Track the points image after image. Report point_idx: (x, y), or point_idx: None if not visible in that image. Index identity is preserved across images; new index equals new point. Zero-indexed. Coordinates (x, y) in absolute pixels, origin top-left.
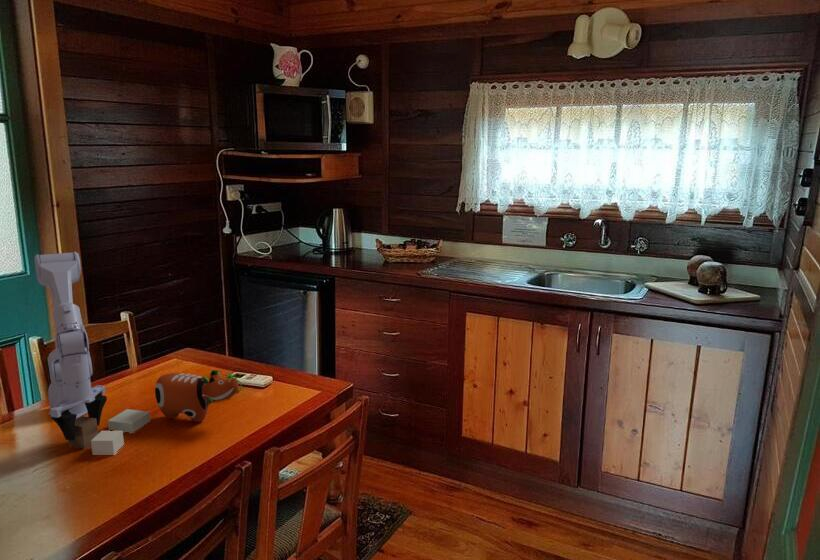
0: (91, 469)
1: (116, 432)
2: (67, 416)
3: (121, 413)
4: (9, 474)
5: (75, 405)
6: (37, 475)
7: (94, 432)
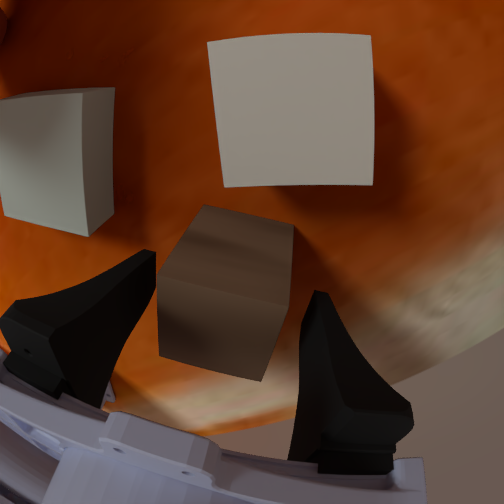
0: (471, 109)
1: (241, 66)
2: (385, 434)
3: (29, 215)
4: (440, 359)
5: (312, 488)
6: (473, 290)
7: (211, 235)
